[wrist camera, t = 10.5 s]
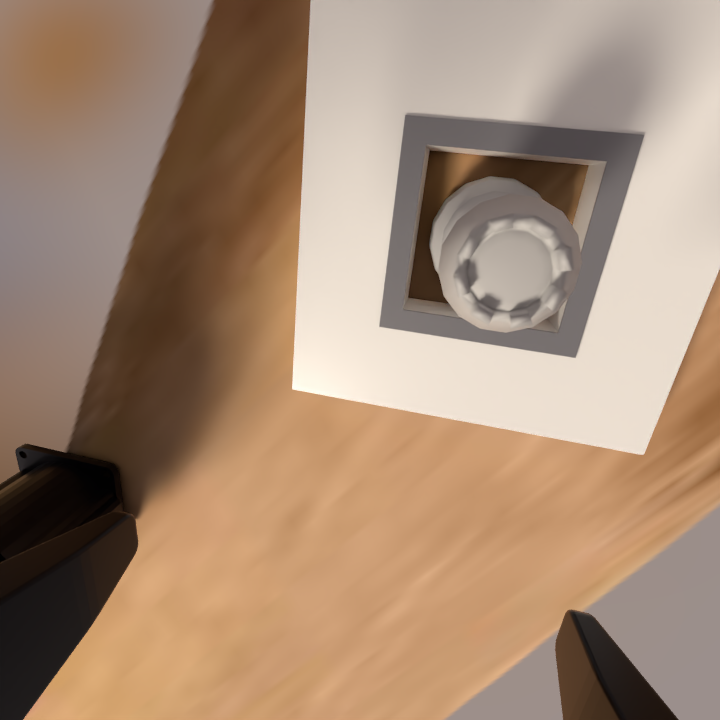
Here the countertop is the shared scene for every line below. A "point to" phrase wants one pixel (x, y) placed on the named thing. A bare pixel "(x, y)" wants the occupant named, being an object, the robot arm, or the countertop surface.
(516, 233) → the rook chess piece
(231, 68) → the countertop surface
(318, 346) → the socket block
